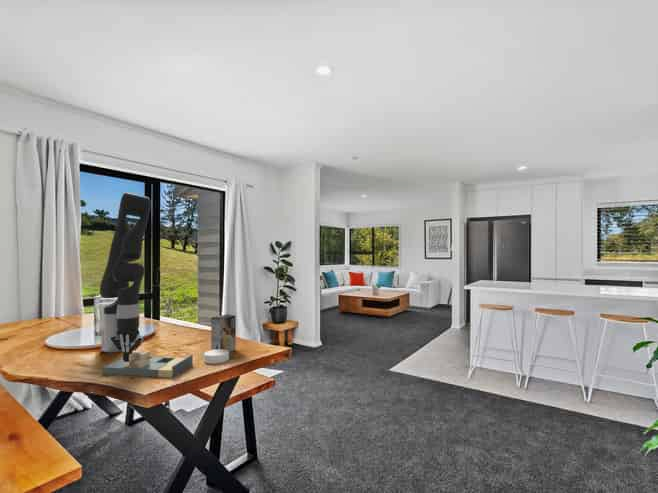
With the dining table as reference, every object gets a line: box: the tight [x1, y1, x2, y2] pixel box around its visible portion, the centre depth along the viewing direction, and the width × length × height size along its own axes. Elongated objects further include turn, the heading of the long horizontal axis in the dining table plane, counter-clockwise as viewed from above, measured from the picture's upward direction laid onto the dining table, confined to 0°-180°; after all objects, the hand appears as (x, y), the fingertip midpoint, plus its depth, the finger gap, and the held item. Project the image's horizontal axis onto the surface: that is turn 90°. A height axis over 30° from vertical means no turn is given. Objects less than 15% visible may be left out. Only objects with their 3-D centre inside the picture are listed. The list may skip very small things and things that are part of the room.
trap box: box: [101, 354, 194, 378], centre depth 135 cm, size 28×14×4 cm, turn 84°
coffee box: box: [210, 314, 237, 353], centre depth 159 cm, size 9×6×16 cm
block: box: [129, 350, 151, 369], centre depth 131 cm, size 5×5×5 cm
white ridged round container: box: [203, 349, 230, 365], centre depth 147 cm, size 10×10×4 cm
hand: (127, 361), depth 132 cm, fingers closed
